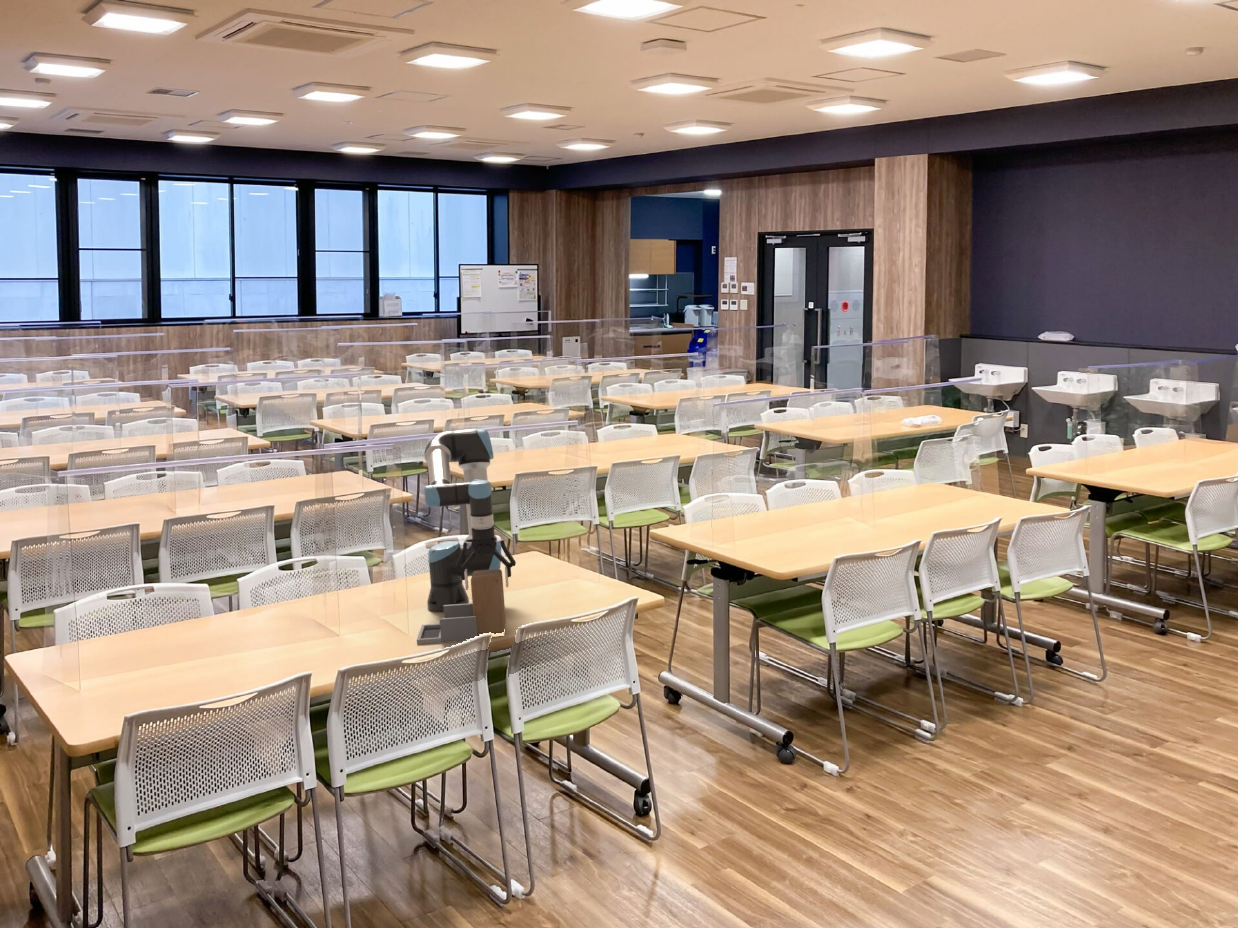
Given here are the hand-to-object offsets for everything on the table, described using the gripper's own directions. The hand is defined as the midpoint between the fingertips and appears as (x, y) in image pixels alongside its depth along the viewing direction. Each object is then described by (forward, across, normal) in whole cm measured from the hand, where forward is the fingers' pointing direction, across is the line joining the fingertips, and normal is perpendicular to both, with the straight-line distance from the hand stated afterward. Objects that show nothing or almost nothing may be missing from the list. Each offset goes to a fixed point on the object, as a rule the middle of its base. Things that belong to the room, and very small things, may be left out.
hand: (487, 587), depth 395 cm
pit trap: (+15, -20, -1) cm, 25 cm away
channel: (+15, -10, -1) cm, 18 cm away
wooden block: (+15, 0, 0) cm, 15 cm away
